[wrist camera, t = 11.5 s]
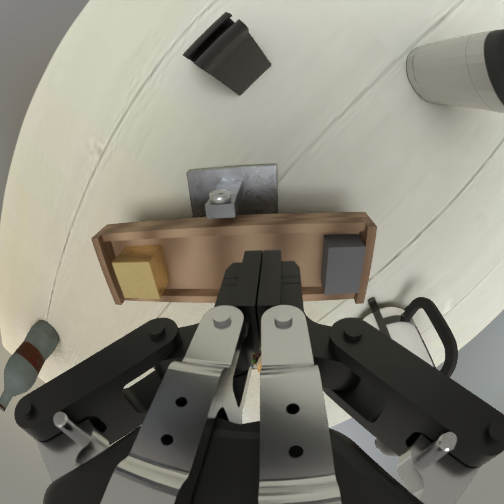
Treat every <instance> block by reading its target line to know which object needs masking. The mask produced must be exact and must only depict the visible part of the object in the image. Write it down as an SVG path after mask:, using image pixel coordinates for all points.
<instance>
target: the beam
mask: <svg viewBox="0 0 504 504" xmlns="http://www.w3.org/2000/svg"><path fill="white" fill-rule="evenodd" d="M376 230H377V226H376V225H375V224H374V222H373V221H372V220H371V219H370V217H369V216H368V215H367V214H366V213H365V212H330V213H283V214H255V215H236V217H234V218H215V219H207V217H197V218H181V219H167V220H154V221H142V222H130V223H119V224H109V225H106V226H105V227H104V228H103V229H101V230H100V231H99V232H98V233H97V234H96V235H95V236H94V237H92V238H91V239H92V242H93V245H94V248H95V251H96V254H97V257H98V260H99V263H100V266H101V268H102V271H103V274H104V276H105V279H106V282H107V284H108V287H109V289H110V292H111V294H112V296H113V299H114V301H115V304H118V305H122V303H123V302H124V300H131V301H155V302H194V303H216V300H217V296H218V293H219V290H220V287H221V283H222V280H223V277H224V274H225V271H226V269H227V268H228V267H229V266H230V265H231V264H232V263H237V262H242V261H243V257H244V252H245V251H248V250H263V251H264V250H276V249H281V257H282V261H295V262H296V264H297V265H298V266H299V267H300V275H301V285H302V297H303V301H319V300H338V299H354V300H355V303H356V304H359V303H364V299H365V294H366V289H367V284H368V279H369V274H370V268H371V263H372V257H373V251H374V244H375V237H376ZM329 234H358V235H359V236H360V238H361V240H362V241H363V243H364V245H365V246H366V248H365V255H364V262H363V268H362V274H361V280H360V285H359V291H358V293H353V294H335V295H324V291H323V287H322V283H321V269H322V254H323V238H324V235H329ZM141 245H161V246H162V250H163V254H164V258H165V262H166V265H167V269H168V273H169V277H170V281H169V283H168V285H167V287H166V289H165V291H164V293H163V295H162V297H161V299H143V298H125V297H124V295H123V292H122V290H121V287H120V285H119V282H118V279H117V276H116V274H115V271H114V268H113V265H112V262H113V261H114V260H115V258H116V257H117V256H118V255H119V254H120V253H121V252H122V250H123V249H124V248H125V247H126V246H141Z"/></svg>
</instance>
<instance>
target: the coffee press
mask: <svg viewBox="0 0 504 504" xmlns="http://www.w3.org/2000/svg"><path fill="white" fill-rule="evenodd" d="M368 302H369V305H370V307H371V310H372V313H370V314H369V315H368V316H366V317H365V318H364V319H363V320H364V321H366V322H367V323H369V324H370V325H372V326H373V327H375V328H376V329H378V330H379V331H381V332H382V333H384V334H385V335H387V336H388V337H390V338H391V339H393V340H394V341H396V342H397V343H399V344H400V345H402V346H403V347H405V348H406V349H408V350H409V351H411V352H412V353H414V354H415V355H417V356H418V357H420V358H421V359H423V360H424V361H426V362H427V363H429V364H430V365H431V366H433V367H434V368H436V367H435V365H434V363H433V360H432V358H431V356H430V354H429V352H428V349H427V347H426V345H425V343H424V341H423V339H422V337H421V335H420V333H419V331H418V329H417V327H416V325H415V323H414V321H413V319H412V317H413V315H414V314H415V313H416V311H417V310H418V309H420V308H423V309H424V310H425V312H426V314H427V315H428V317H429V319H430V321H431V322H432V324H433V326H434V328H435V329H436V331H437V333H438V335H439V337H440V339H441V341H442V343H443V345H444V348H445V362H444V365H443V367H442V369H441V370H440V372H442V373H443V374H445V375H446V376H448V377H449V378H450V376H451V375H452V373H453V371H454V369H455V367H456V364H457V359H458V349H457V344H456V340H455V338H454V336H453V334H452V332H451V330H450V328H449V326H448V324H447V323H446V321H445V319H444V318H443V316H442V314H441V313H440V311H439V310H438V308H437V307H436V305H435V304H434V303H433V302H432V301H431V300H430V299H428V298H424V297H418V298H416V299H414V300H413V301H412V302H411V303H410V304H409V306H407V307H406V309H405V310H403V309H401V308H397V307H385V308H381V309H379V308H378V305H377V303H376V300H375V298H373V299H370V300H368ZM375 445H376V447H377V448H378V449H380V450H381V452H382V453H384V454H385V455H389V456H398V455H397V454H396V453H395V452H393V451H392V450H391V449H390V448H388V447H387V446H386V445H385V444H383V443H382V442H381V441H380V440H379V439H377V438H376V440H375Z"/></svg>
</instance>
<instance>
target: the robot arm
mask: <svg viewBox="0 0 504 504" xmlns="http://www.w3.org/2000/svg"><path fill="white" fill-rule="evenodd" d="M406 69H407V75H408V78H409V81H410V83H411V85H412V87H413V88H414V89H415V91H416V92H417V93H418V94H419V95H420V96H421V97H422V98H423V99H425V100H426V101H428V102H430V103H434V104H444V105H453V106H462V107H470V108H477V109H483V110H489V111H495V112H500V113H504V29H503V30H495V31H488V32H482V33H477V34H471V35H466V36H461V37H457V38H452V39H448V40H444V41H440V42H436V43H432V44H428V45H425V46H421V47H418V48H416V49H414V50H413V51H412V52H411V53H410V54H409V56H408V59H407V66H406ZM260 350H261V362H262V366H261V369H260V421H257V422H252V423H246V424H242V412H243V407H244V403H245V398H246V394H247V389H248V385H249V380H250V376H251V371H252V367H251V364H252V358H253V353H260ZM152 367H153V368H154V369H155V371H153V372H152V373H150V374H149V375H147V376H146V377H144V378H143V379H141V380H140V381H138V382H137V383H135V384H134V385H132V386H131V387H129V388H126V389H123V388H124V386H125V385H126V384H128V383H129V382H131V381H132V380H134V379H136V378H137V377H139V376H140V375H142V374H143V373H145V372H146V371H148V370H149V369H151V368H152ZM323 391H324V392H325V393H326V394H327V395H328V396H329V397H330V398H331V399H332V400H333V401H334V402H335V403H337V404H338V405H339V406H340V407H341V408H342V409H343V410H345V411H346V412H347V413H348V414H349V415H350V416H351V417H353V418H354V419H355V420H356V421H357V422H358V423H360V424H361V425H362V426H363V427H364V428H365V429H367V430H368V431H369V432H370V433H371V434H373V435H374V436H375V437H376V438H377V439H379V440H380V441H381V442H382V443H383V444H385V445H386V446H387V447H388V448H390V449H391V450H392V451H393V452H395V453H396V454H397V455H398V456H400V458H399V461H398V466H397V469H398V473H399V476H400V477H401V478H402V480H403V481H404V482H405V483H406V485H407V488H408V490H407V489H406V488H405V487H403V486H402V485H401V484H400V483H399V482H397V481H396V480H395V479H394V478H392V476H390V475H389V474H388V473H387V472H386V471H385V470H384V469H383V468H382V467H380V466H379V465H378V464H377V463H376V462H375V461H374V460H373V459H372V458H371V457H369V456H368V455H367V454H366V453H365V452H364V451H363V450H362V449H361V448H360V447H359V446H358V445H357V444H356V443H355V442H353V441H352V440H351V439H350V438H348V437H346V436H345V435H343V434H341V433H340V432H338V431H335V430H333V429H330V428H329V426H328V420H327V413H326V407H325V401H324V395H323ZM15 420H16V423H17V424H18V425H19V426H20V427H21V428H22V429H24V430H25V431H26V432H27V433H28V434H30V435H31V436H32V437H33V438H34V439H35V440H36V441H37V443H38V446H39V449H40V452H41V455H42V457H43V460H44V463H45V465H46V467H47V470H48V472H49V475H50V477H51V479H52V481H53V482H52V484H50V485H49V487H48V488H47V490H46V492H45V495H44V500H43V504H455V503H456V502H457V501H458V499H459V498H460V497H461V495H462V494H463V492H464V491H465V489H466V488H467V486H468V485H469V484H470V482H471V480H472V479H473V477H474V476H475V474H476V473H477V471H478V469H479V468H480V467H481V466H482V465H483V464H485V463H486V462H488V461H490V460H491V459H492V458H494V457H496V456H497V455H498V454H500V453H501V452H502V451H503V450H504V415H503V414H502V413H501V412H499V411H498V410H496V409H495V408H493V407H492V406H490V405H489V404H487V403H486V402H484V401H483V400H482V399H480V398H479V397H477V396H476V395H474V394H473V393H471V392H470V391H468V390H467V389H465V388H464V387H462V386H461V385H460V384H458V383H456V382H455V381H454V380H452V379H451V378H449V377H448V376H446V375H445V374H443V373H442V372H440V371H439V370H437V369H436V368H434V367H433V366H431V365H430V364H429V363H427V362H426V361H424V360H423V359H421V358H420V357H418V356H417V355H415V354H414V353H412V352H411V351H409V350H408V349H406V348H405V347H403V346H402V345H400V344H399V343H397V342H396V341H394V340H393V339H391V338H390V337H388V336H387V335H385V334H384V333H382V332H381V331H379V330H378V329H376V328H375V327H373V326H372V325H370V324H369V323H367V322H366V321H364V320H362V319H358V318H344V319H341V320H339V321H337V322H336V323H334V324H333V326H332V327H331V326H326V325H321V324H318V323H315V322H313V321H312V320H310V319H309V318H308V317H307V316H306V314H305V312H304V309H303V297H302V285H301V275H300V267H299V266H298V265H297V264H296V262H295V261H282V257H281V249H276V250H264V251H263V250H248V251H245V252H244V257H243V261H242V262H237V263H232V264H231V265H230V266H229V267H228V268H227V269H226V271H225V274H224V277H223V280H222V283H221V287H220V290H219V293H218V296H217V300H216V303H215V306H214V308H212V309H210V310H208V311H207V312H206V313H205V314H204V315H203V317H202V319H201V321H200V323H198V324H195V325H191V326H186V327H181V328H178V327H177V325H176V323H175V322H174V321H173V320H171V319H168V318H156V319H153V320H150V321H148V322H147V323H145V324H143V325H142V326H140V327H139V328H137V329H135V330H134V331H132V332H130V333H129V334H127V335H125V336H124V337H122V338H120V339H119V340H117V341H115V342H114V343H112V344H111V345H109V346H107V347H106V348H104V349H102V350H101V351H99V352H97V353H96V354H94V355H92V356H91V357H89V358H87V359H86V360H84V361H82V362H81V363H79V364H77V365H76V366H74V367H72V368H71V369H69V370H67V371H66V372H64V373H62V374H61V375H59V376H57V377H56V378H54V379H52V380H51V381H49V382H47V383H46V384H44V385H43V386H41V387H39V388H37V389H36V390H34V391H32V392H31V393H29V394H27V395H26V396H24V397H23V398H22V399H20V401H19V402H18V404H17V406H16V408H15ZM140 425H141V426H140ZM137 427H138V428H137ZM134 429H135V430H134ZM131 431H132V432H131ZM128 433H129V434H128ZM127 434H128V435H127ZM125 435H126V436H125ZM123 436H125V437H123ZM122 437H123V438H122ZM120 438H122V439H120ZM119 439H120V440H119ZM117 440H119V441H117ZM115 441H117V442H116V443H114V442H115ZM112 443H114V444H113V445H112V446H110V447H109V445H111V444H112Z"/></svg>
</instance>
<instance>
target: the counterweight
mask: <svg viewBox="0 0 504 504" xmlns="http://www.w3.org/2000/svg"><path fill="white" fill-rule="evenodd" d="M365 248H366V246H365V245H364V243H363V241H362V240H361V238H360V236H359V235H358V234H329V235H324V238H323V254H322V269H321V283H322V287H323V291H324V295H335V294H353V293H358V291H359V285H360V280H361V274H362V268H363V262H364V255H365Z"/></svg>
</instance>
